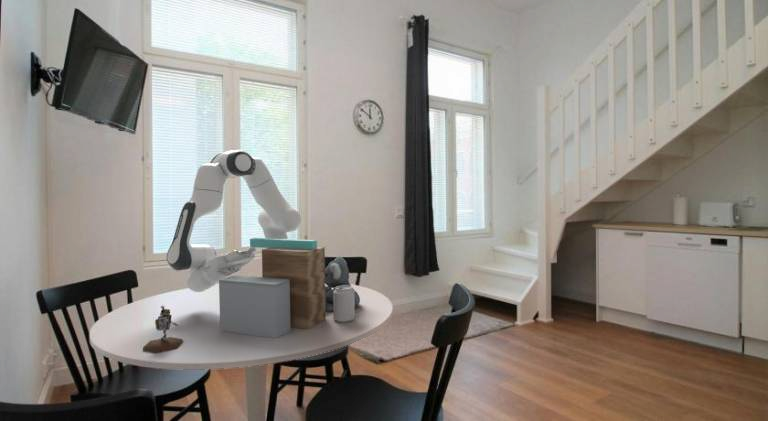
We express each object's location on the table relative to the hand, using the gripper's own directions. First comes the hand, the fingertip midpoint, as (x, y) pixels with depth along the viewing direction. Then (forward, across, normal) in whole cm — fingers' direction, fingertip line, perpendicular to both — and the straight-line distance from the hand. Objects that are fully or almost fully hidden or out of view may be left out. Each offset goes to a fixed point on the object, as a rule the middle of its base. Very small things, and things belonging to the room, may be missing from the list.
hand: (245, 250), depth 153 cm
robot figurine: (-15, -34, +20) cm, 42 cm away
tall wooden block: (+6, 0, +31) cm, 32 cm away
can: (+19, +7, +40) cm, 45 cm away
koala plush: (+10, +22, +35) cm, 42 cm away
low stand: (0, -13, +28) cm, 31 cm away
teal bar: (+15, 0, +7) cm, 16 cm away
